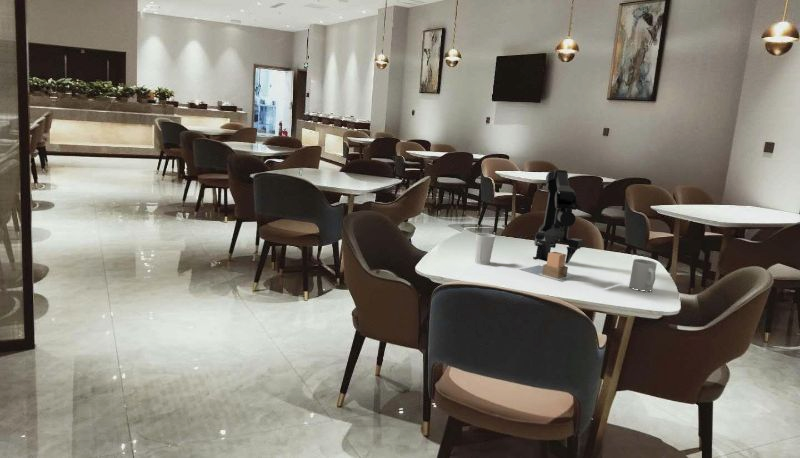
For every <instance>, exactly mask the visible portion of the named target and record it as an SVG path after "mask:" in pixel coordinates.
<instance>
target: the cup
mask: <svg viewBox="0 0 800 458" xmlns="http://www.w3.org/2000/svg"><path fill="white" fill-rule="evenodd" d="M495 238H496V235H495V234H491V233H488V232H487V233H486V232H477V233H476V234H475V257H474V263H476V264H477V265H484V266H488V265H490V264H491V257H492V252H493V249H494V243H495V241H496V240H495Z"/></svg>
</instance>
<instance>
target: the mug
mask: <svg viewBox="0 0 800 458" xmlns="http://www.w3.org/2000/svg"><path fill="white" fill-rule="evenodd" d="M656 271H657V262H655V261H652V260H648V259H642V258H640V259H639V258H636V259H635V258H634V259H633V261H632V267H631V273H630V277H629V280H630V281H629V283H628V284H629V285H628V287H629V288H630V287H631V288H634V289H638V290H645V291H650V290H652V291H653V289H654V284H655V282H656ZM631 288H630V289H631Z"/></svg>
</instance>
